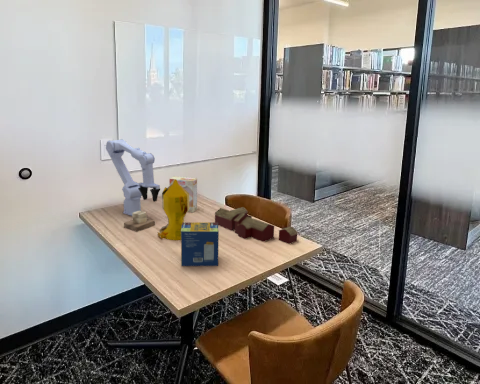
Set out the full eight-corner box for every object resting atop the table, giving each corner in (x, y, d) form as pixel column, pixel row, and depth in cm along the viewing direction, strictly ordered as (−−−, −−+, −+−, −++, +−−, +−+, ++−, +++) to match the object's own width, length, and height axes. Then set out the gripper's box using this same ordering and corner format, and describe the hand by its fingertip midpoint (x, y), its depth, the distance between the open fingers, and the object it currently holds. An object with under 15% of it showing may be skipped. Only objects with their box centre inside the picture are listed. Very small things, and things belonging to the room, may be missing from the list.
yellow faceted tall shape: (169, 246, 169) (168, 187, 161) (149, 229, 188) (147, 176, 180) (202, 238, 178) (202, 183, 171) (180, 223, 198) (179, 173, 190)
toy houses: (211, 225, 197) (211, 207, 194) (238, 217, 211) (238, 200, 209) (275, 252, 167) (276, 231, 164) (302, 240, 181) (303, 221, 178)
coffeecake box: (169, 210, 219) (168, 178, 214) (174, 206, 226) (173, 175, 221) (193, 212, 216) (193, 180, 211) (197, 209, 223) (197, 177, 218)
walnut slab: (124, 228, 190) (123, 222, 189) (141, 222, 200) (141, 216, 199) (137, 232, 185) (137, 227, 184) (154, 226, 194) (154, 220, 194)
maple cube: (132, 222, 191) (132, 212, 189) (139, 219, 195) (139, 210, 194) (139, 224, 188) (139, 214, 187) (146, 221, 192) (146, 212, 191)
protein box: (182, 255, 160) (182, 222, 156) (217, 255, 161) (218, 222, 157) (180, 266, 150) (180, 231, 146) (218, 266, 151) (219, 231, 147)
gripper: (133, 176, 199) (135, 200, 202) (152, 178, 191) (154, 203, 194) (143, 174, 205) (145, 197, 208) (161, 176, 197) (163, 200, 200)
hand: (150, 200), depth 201 cm, fingers open, 7 cm apart
